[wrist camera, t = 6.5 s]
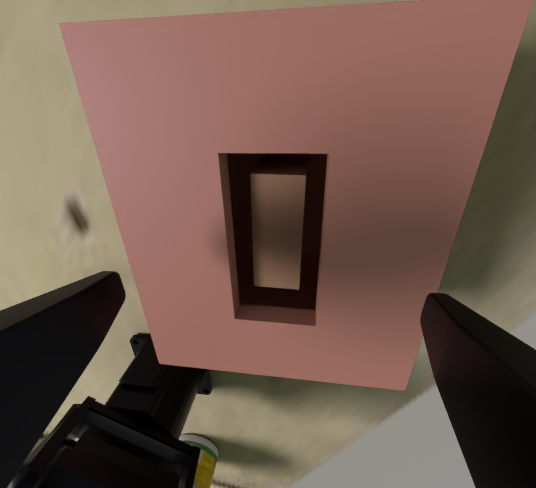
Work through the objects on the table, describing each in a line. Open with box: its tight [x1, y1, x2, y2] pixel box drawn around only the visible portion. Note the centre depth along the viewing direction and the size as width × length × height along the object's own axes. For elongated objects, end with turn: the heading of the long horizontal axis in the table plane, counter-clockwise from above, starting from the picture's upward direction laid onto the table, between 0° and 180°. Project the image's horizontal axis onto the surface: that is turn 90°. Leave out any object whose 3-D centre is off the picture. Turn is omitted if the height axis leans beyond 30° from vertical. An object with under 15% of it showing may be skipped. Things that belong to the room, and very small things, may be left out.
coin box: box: [59, 0, 533, 391], centre depth 13 cm, size 14×12×7 cm
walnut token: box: [250, 153, 308, 290], centre depth 13 cm, size 5×2×5 cm, turn 0°
